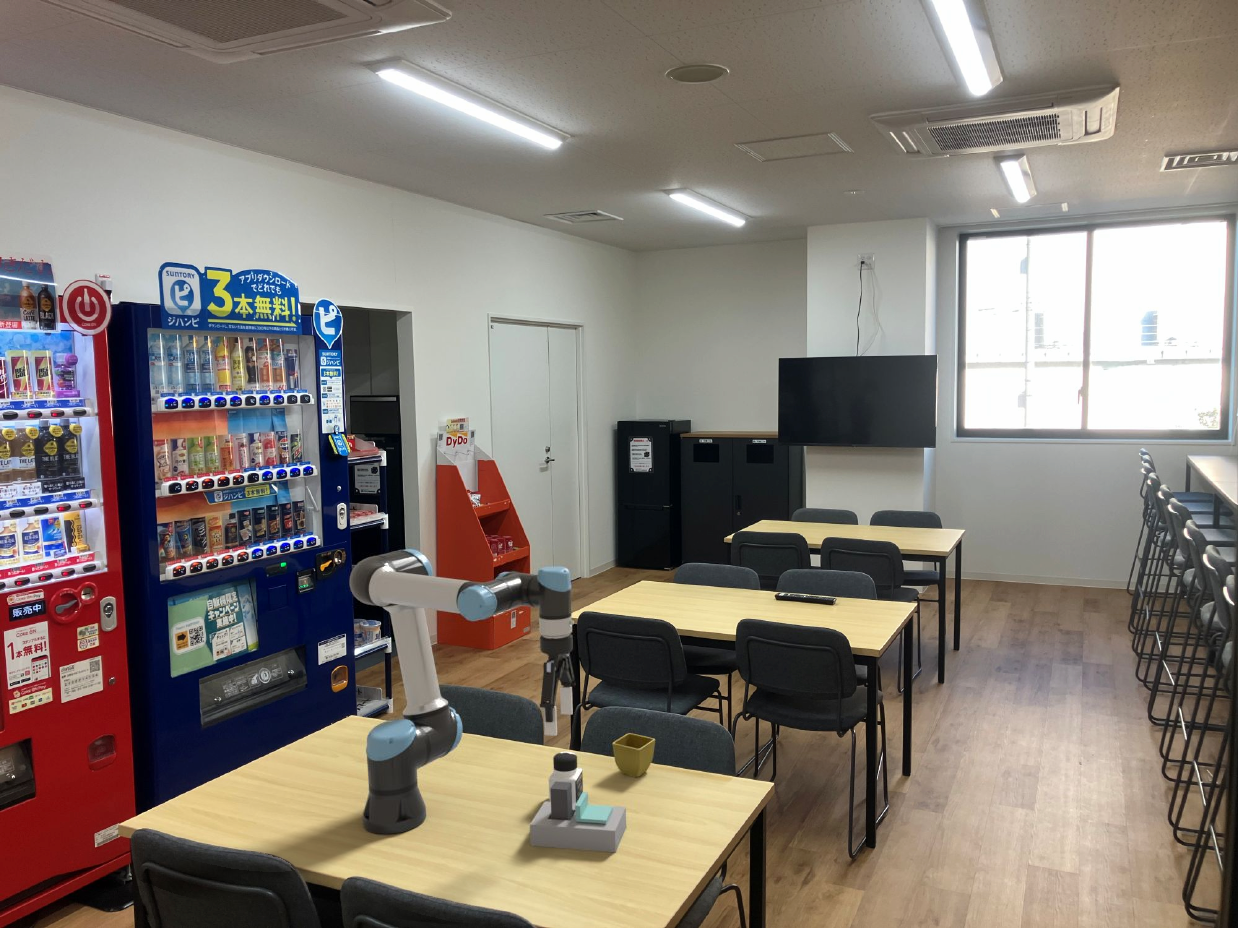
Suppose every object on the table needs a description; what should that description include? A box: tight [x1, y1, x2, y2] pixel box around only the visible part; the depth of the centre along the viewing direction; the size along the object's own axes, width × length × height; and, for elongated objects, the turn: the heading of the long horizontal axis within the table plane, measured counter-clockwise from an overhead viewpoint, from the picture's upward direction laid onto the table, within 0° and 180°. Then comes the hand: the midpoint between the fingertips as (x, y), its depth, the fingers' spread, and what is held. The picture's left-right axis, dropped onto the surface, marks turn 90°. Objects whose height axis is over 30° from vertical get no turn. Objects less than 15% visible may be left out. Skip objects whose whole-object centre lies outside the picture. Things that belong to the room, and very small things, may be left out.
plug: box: [550, 781, 573, 821], centre depth 215 cm, size 4×4×12 cm
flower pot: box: [611, 732, 656, 778], centre depth 249 cm, size 9×9×9 cm
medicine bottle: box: [548, 751, 584, 804], centre depth 233 cm, size 7×7×12 cm
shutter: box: [575, 791, 614, 824], centre depth 213 cm, size 7×7×4 cm
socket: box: [529, 801, 627, 853], centre depth 214 cm, size 20×12×5 cm, turn 78°
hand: (559, 723), depth 213 cm, fingers open, 13 cm apart
